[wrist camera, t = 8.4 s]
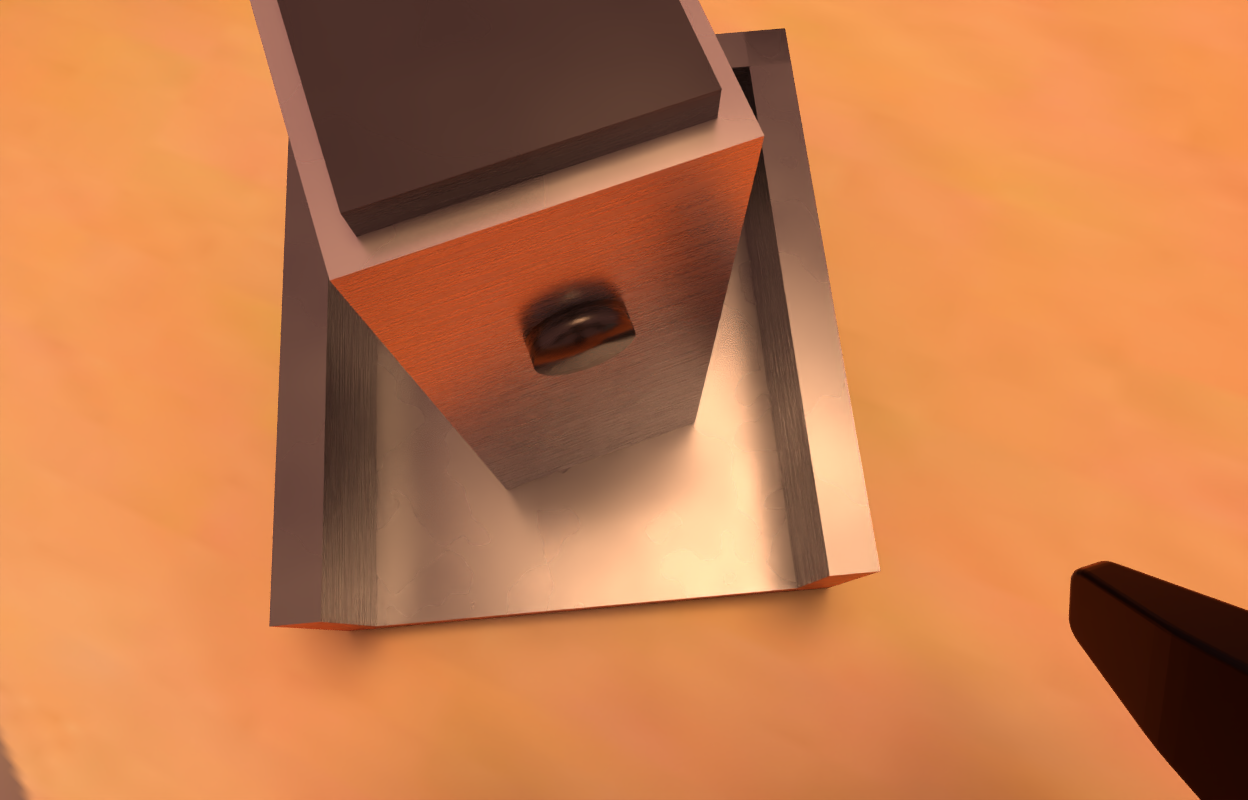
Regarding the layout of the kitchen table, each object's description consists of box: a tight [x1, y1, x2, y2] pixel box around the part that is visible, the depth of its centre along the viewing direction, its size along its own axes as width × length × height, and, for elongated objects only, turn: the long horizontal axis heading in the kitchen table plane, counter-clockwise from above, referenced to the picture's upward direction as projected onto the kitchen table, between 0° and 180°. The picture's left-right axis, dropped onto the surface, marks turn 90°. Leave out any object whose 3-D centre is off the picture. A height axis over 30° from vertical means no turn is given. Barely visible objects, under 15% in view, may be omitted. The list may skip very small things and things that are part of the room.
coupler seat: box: [269, 28, 880, 631], centre depth 20 cm, size 13×12×4 cm
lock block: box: [250, 0, 764, 490], centre depth 15 cm, size 5×5×12 cm
